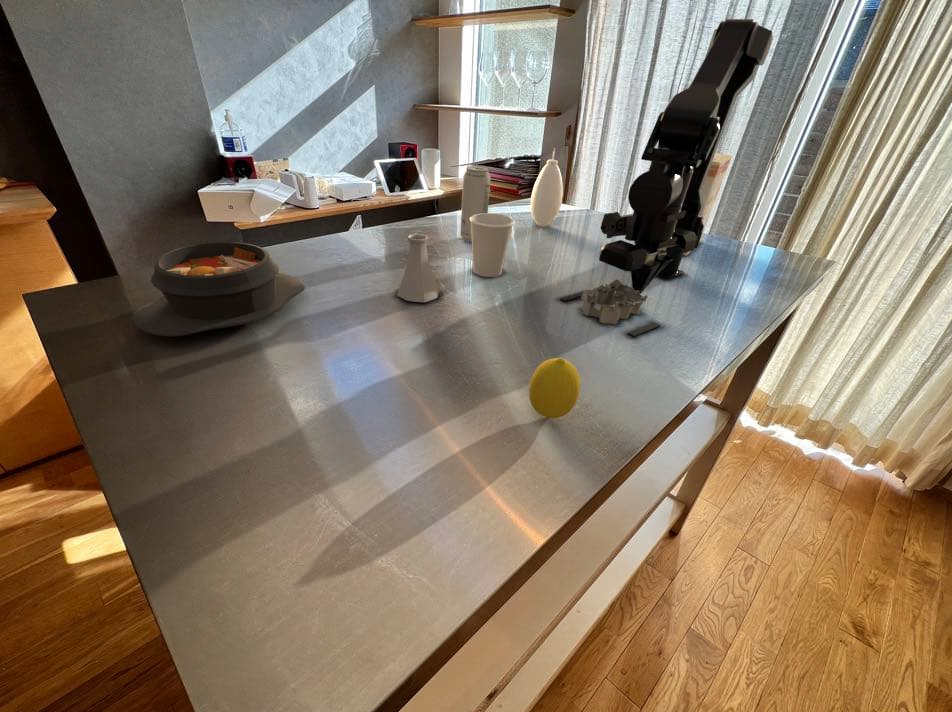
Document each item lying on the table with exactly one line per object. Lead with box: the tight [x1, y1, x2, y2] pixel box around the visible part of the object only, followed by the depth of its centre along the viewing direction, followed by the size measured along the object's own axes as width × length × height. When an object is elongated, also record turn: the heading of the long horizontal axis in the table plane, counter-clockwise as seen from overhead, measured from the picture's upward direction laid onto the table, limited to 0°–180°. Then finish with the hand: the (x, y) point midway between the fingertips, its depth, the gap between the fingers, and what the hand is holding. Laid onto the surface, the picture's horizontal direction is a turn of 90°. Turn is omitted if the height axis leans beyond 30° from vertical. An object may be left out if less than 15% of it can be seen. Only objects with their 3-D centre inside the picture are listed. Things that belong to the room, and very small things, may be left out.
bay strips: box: [559, 290, 661, 338], centre depth 76 cm, size 7×16×1 cm, turn 36°
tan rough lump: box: [580, 279, 649, 325], centre depth 75 cm, size 11×8×4 cm
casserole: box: [131, 241, 306, 338], centre depth 66 cm, size 25×19×8 cm
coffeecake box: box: [683, 152, 733, 257], centre depth 103 cm, size 15×7×20 cm, turn 144°
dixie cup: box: [470, 212, 515, 278], centre depth 85 cm, size 8×8×10 cm
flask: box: [396, 233, 440, 304], centre depth 74 cm, size 7×7×10 cm
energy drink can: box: [459, 165, 492, 243], centre depth 100 cm, size 6×6×15 cm
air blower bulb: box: [530, 147, 564, 228], centre depth 111 cm, size 8×8×18 cm
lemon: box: [528, 357, 581, 419], centre depth 49 cm, size 6×6×8 cm
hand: (635, 295), depth 78 cm, fingers closed
